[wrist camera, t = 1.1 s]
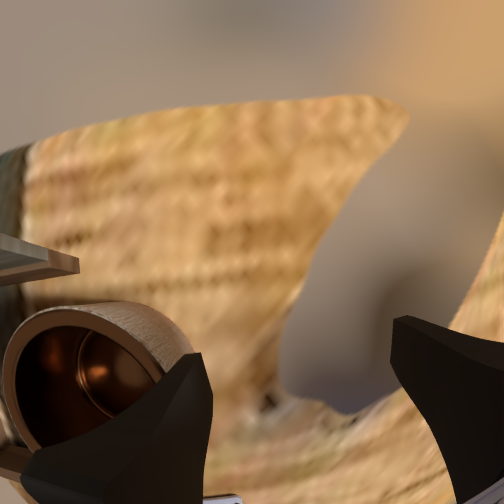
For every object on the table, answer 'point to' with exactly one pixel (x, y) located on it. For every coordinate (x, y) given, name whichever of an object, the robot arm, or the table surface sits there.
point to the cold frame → (19, 271)
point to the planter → (84, 366)
